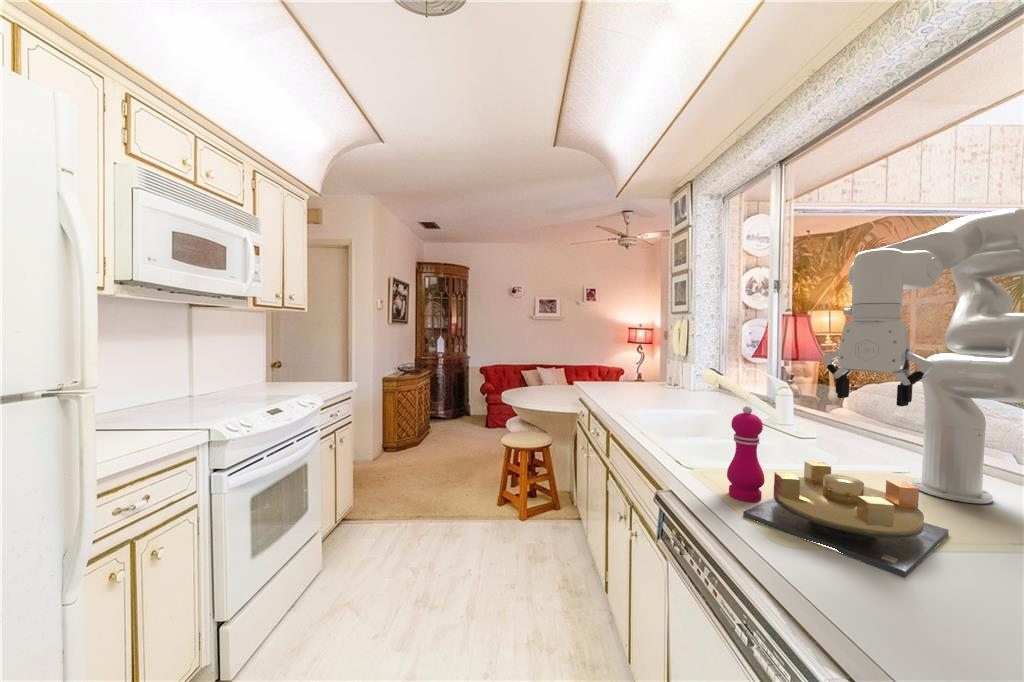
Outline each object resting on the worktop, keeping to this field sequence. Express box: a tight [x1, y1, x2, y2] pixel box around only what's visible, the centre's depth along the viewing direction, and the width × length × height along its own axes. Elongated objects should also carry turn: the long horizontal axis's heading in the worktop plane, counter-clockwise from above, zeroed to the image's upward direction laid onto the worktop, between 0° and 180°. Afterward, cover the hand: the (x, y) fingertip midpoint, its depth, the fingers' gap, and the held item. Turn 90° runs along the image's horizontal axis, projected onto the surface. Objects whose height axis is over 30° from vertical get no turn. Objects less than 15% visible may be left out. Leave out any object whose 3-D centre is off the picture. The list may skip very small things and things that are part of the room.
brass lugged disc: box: [772, 460, 925, 538], centre depth 80 cm, size 22×22×6 cm
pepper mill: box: [726, 405, 765, 503], centre depth 92 cm, size 7×7×20 cm
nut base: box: [742, 497, 949, 579], centre depth 80 cm, size 24×24×3 cm
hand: (871, 401), depth 83 cm, fingers open, 9 cm apart
